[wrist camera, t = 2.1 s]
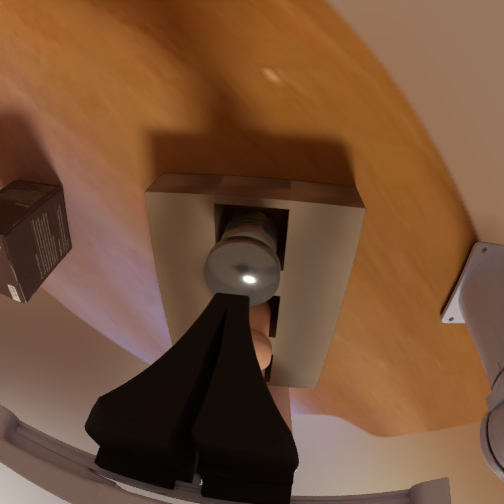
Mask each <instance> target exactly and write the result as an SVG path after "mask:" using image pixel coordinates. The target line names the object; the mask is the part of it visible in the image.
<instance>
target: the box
mask: <svg viewBox="0 0 504 504" xmlns="http://www.w3.org/2000/svg"><path fill="white" fill-rule="evenodd" d="M71 249H72V246H71V242H70V236H69V231H68V225H67V219H66V212H65V205H64V198H63V189H62V187H60V186H52V185H45V184H37V183H30V182H24V181H16V180H14V181H13V182H12V183H10V184H9V185H7V186H6V187H5V188H3V189H1V190H0V293H1V294H3V295H5V296H8V297H10V298H12V299H14V300H17V301H19V302H22V303H27V302H28V301H29V299H30V298H31V296H32V295H33V294H34V293H35V292H36V291H37V289H38V288H39V287H40V285H41V284H42V283H43V282H44V280H45V279H46V278H47V277H48V276H49V274H50V273H51V272H52V271H53V270H54V269H55V267H56V266H57V265H58V264H59V263H60V262H61V260H62V259H63V258H64V257H65V256H66V254H67V253H68V252H69V251H70V250H71Z"/></svg>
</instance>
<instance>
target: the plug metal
mask: <svg viewBox="0 0 504 504" xmlns="http://www.w3.org/2000/svg"><path fill="white" fill-rule="evenodd" d="M277 240H278V231H277V227H276V225H275V224H274V222H273V221H272V220H271V219H270V218H269V217H268V216H267V215H265V214H263V213H261V212H258V211H252V210H248V211H242V212H239V213H237V214H235V215H234V216H233V217H231V218H230V220H229V221H228V223H227V225H226V228H225V230H224V233H223V236H222V238H221V241H219V242H218V243H216V244H215V245H214V246H213V248H212V249H211V250H210V252H209V255H208V257H207V259H206V262H205V265H204V269H203V275H204V280H205V283H206V285H207V286H208V288H209V289H210V291H211V292H212V293H213V294H216V293H217V292H218V293H228V294H237V295H247V296H248V297H249V298H250V306H254V305H258V304H261V303H264V302H265V301H267V300H269V299H270V298H271V297H272V296H273V295H274V294H275V293H276V291H277V289H278V287H279V283H280V272H281V266H280V261H279V259H278V257H277V255H276V250H277Z"/></svg>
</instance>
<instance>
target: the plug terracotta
mask: <svg viewBox="0 0 504 504" xmlns="http://www.w3.org/2000/svg"><path fill="white" fill-rule="evenodd" d="M270 317H271V308H270V306H269V304H268V303H267V302H266V301H265V302H264V303H261V304H258V305H254V306H250V310H249V322H250V329H251V334H252V340H253V344H254V348H255V352H256V356H257V359H258V362H259V365H260V368H261V370H263V369H265V368H266V367H267V366H268V365H269V363H270V361H271V353H272V345H271V342H270V341H269V339H268V335H269V326H270Z"/></svg>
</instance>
